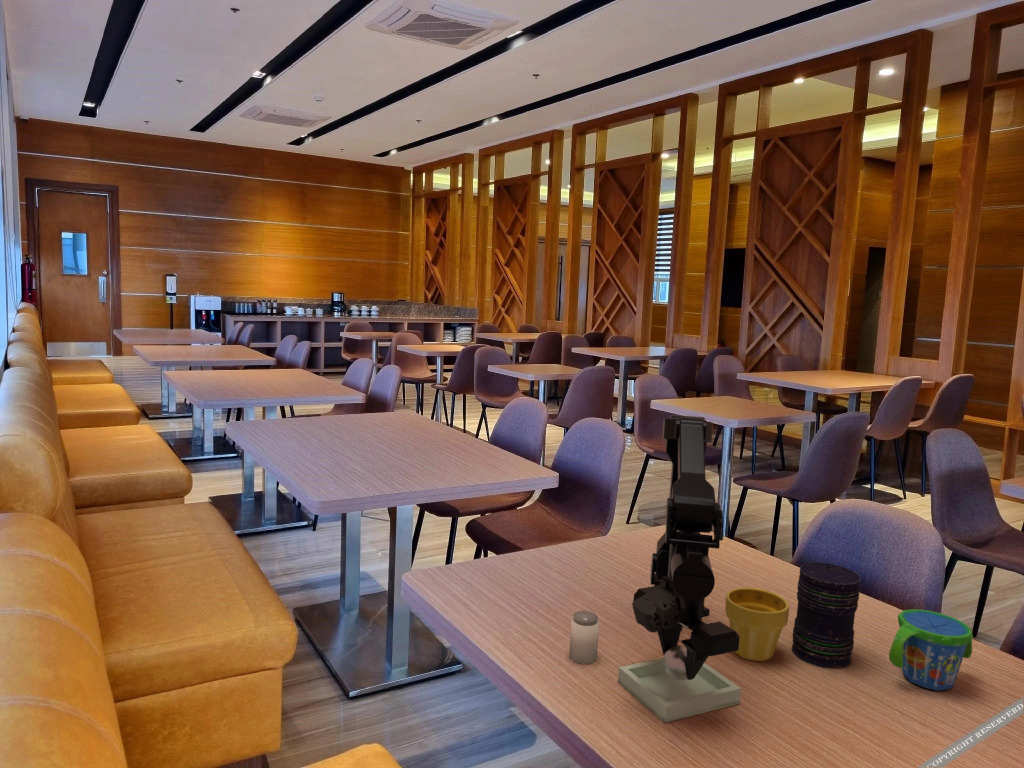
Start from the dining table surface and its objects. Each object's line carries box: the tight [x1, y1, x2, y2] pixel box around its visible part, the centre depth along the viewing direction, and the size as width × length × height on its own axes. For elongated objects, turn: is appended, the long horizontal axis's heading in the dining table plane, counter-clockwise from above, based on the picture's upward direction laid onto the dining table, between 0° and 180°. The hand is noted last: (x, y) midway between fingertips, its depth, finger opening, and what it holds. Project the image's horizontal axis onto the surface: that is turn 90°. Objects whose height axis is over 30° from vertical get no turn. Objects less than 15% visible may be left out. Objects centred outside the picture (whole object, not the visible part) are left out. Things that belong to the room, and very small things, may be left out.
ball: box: [662, 645, 687, 680], centre depth 116 cm, size 5×5×5 cm
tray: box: [617, 657, 742, 724], centre depth 117 cm, size 14×12×2 cm
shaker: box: [568, 610, 600, 665], centre depth 126 cm, size 5×5×7 cm
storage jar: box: [791, 562, 861, 670], centre depth 131 cm, size 10×10×15 cm
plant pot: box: [725, 587, 790, 662], centre depth 131 cm, size 10×10×10 cm
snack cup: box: [888, 608, 974, 692], centre depth 124 cm, size 16×10×10 cm
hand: (679, 670), depth 116 cm, fingers closed on ball, 5 cm apart
